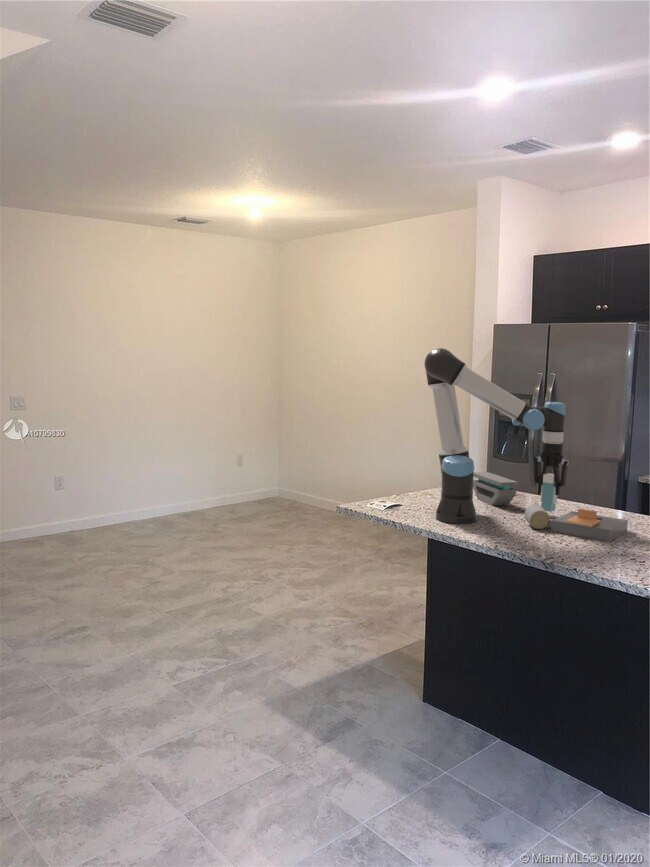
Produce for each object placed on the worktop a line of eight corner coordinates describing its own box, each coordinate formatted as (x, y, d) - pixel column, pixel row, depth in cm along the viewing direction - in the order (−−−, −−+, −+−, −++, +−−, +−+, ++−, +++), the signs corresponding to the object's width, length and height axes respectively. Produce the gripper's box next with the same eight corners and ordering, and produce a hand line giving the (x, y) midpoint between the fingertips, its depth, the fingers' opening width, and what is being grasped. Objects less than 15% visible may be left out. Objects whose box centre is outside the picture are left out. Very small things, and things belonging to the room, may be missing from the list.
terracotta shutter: (592, 526, 236) (592, 515, 236) (565, 522, 242) (566, 511, 242) (600, 522, 243) (601, 511, 243) (575, 518, 249) (575, 507, 249)
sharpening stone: (470, 496, 306) (471, 472, 305) (486, 496, 309) (487, 472, 307) (499, 509, 282) (500, 482, 281) (516, 508, 285) (518, 482, 283)
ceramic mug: (529, 530, 249) (531, 508, 248) (523, 524, 257) (525, 504, 256) (559, 531, 248) (561, 510, 248) (552, 525, 257) (554, 505, 256)
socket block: (609, 541, 234) (609, 529, 234) (551, 531, 247) (551, 520, 247) (627, 530, 250) (627, 519, 249) (571, 521, 262) (572, 511, 262)
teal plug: (551, 511, 268) (553, 475, 266) (540, 510, 270) (543, 474, 269) (555, 510, 271) (557, 474, 269) (545, 508, 274) (547, 473, 272)
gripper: (578, 444, 265) (573, 504, 268) (535, 439, 276) (531, 497, 279) (571, 445, 260) (566, 507, 262) (527, 440, 270) (523, 500, 273)
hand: (548, 502), depth 270 cm, fingers closed on teal plug, 4 cm apart
